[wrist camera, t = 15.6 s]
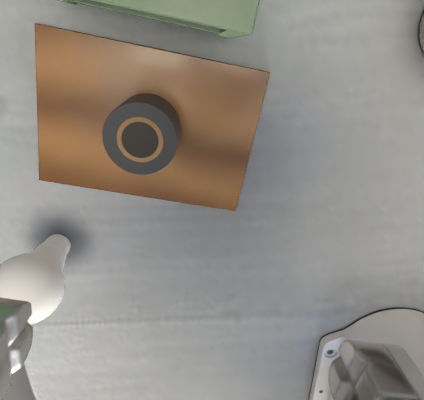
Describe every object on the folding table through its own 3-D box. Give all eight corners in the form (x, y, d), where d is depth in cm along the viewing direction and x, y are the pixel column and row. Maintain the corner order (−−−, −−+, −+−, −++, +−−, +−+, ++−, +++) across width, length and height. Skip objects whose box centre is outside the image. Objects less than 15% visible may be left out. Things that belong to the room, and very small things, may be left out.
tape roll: (175, 162, 32) (171, 180, 28) (113, 151, 32) (99, 168, 27) (185, 100, 30) (182, 110, 26) (118, 87, 29) (104, 94, 25)
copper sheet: (234, 209, 35) (235, 211, 35) (40, 178, 33) (39, 180, 33) (269, 72, 29) (270, 72, 29) (36, 23, 27) (34, 23, 27)
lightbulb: (101, 241, 36) (64, 315, 27) (66, 271, 38) (19, 352, 28) (55, 204, 34) (-4, 270, 24) (21, 239, 36) (-48, 313, 26)
